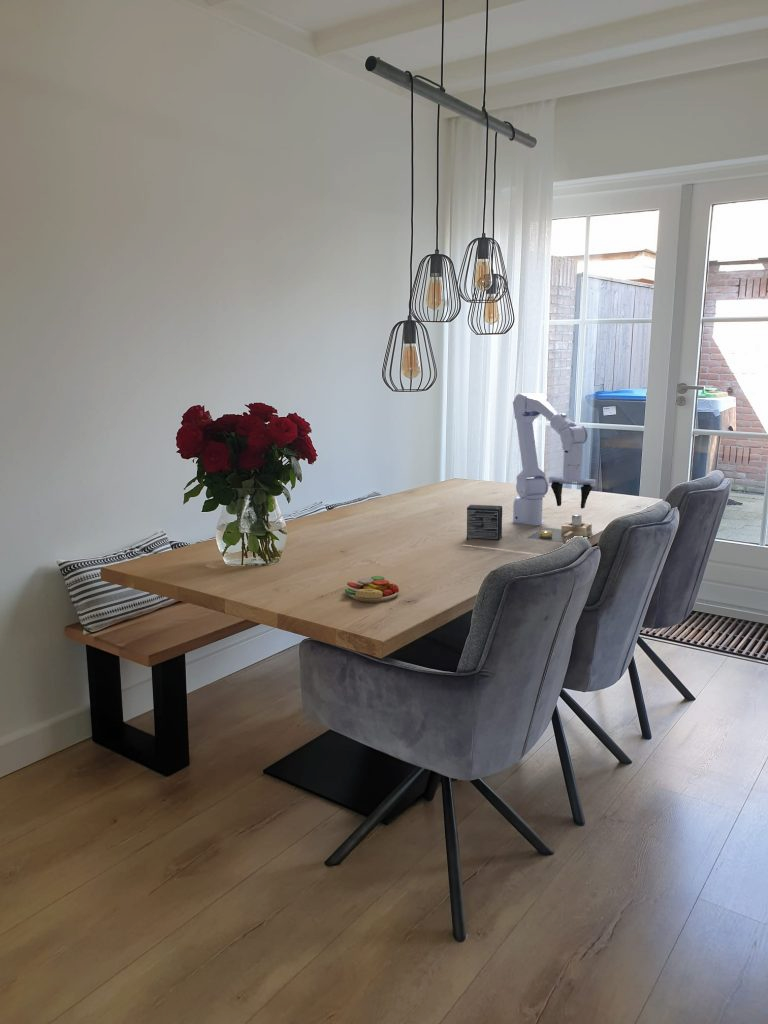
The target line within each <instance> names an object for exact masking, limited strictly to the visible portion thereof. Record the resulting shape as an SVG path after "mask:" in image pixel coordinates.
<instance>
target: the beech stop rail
mask: <svg viewBox="0 0 768 1024" xmlns="http://www.w3.org/2000/svg"><path fill="white" fill-rule="evenodd" d="M571 538H573V532H571V531H569V532H568V533H566V534H565V535H563V542H562V543H566V541H567V540H569V539H571Z"/></svg>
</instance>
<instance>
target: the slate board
mask: <svg viewBox="0 0 768 1024" xmlns="http://www.w3.org/2000/svg"><path fill="white" fill-rule="evenodd" d="M542 530H548V531H552V538H550V539H543V538H540V537H539V531H542ZM573 537H574V536H573ZM526 538H527V539H534V540H540V541H541V540H542V541H549V542H550V541H551V542H558V543H559V542H560V543H564V542H563V535H561V528H553V527H543V528H541V529H539V530H538V531H535V532H534V533H532V534H531V535H529V536H527V537H526Z"/></svg>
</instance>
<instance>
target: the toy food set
mask: <svg viewBox="0 0 768 1024" xmlns="http://www.w3.org/2000/svg"><path fill="white" fill-rule="evenodd" d="M385 578H386V577H385V576H381V575H373V576H371V577H370V578H369V577H364V578H359V579H358V580H357V582H358V583H357V582H352V581H351V582H350V581H349V582H348V581H347V583H346V585H347V586H348V588H345V589H344V592H345V593H347V595H348V596H349V597H350V598H352V600H353V599H354V600H356V601H359V602H366V603H367V602H369V603H371V602H373V603H377V602H383V601H384V602H385V601H390V600H392V599H394V598H396V597H397V596H398V595H399V593H400V589H399V586H398V585H397V584H396V583H395V584H394V583H393V582H390V581H389V580H387V579H385Z"/></svg>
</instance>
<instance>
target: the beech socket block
mask: <svg viewBox="0 0 768 1024" xmlns="http://www.w3.org/2000/svg"><path fill="white" fill-rule="evenodd" d="M560 529H561V535H565V534H566V533H568V532H569V531H571V532H573V536H586V537H587V536H589V535H590V534H592V529H593V524H592V523H590V522H582V521H581V526H572V520H571V521H570V520H568V521H566V522H565V523H564V524H562V525H561V528H560Z"/></svg>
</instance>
